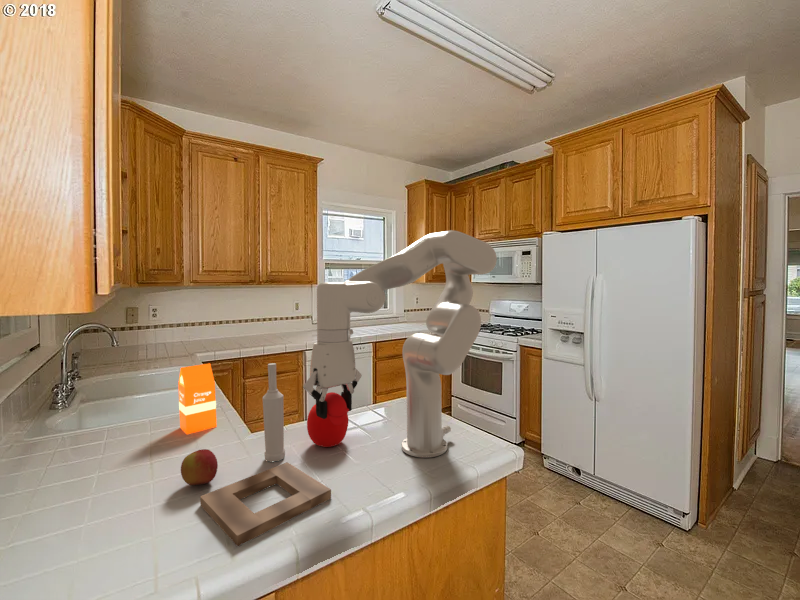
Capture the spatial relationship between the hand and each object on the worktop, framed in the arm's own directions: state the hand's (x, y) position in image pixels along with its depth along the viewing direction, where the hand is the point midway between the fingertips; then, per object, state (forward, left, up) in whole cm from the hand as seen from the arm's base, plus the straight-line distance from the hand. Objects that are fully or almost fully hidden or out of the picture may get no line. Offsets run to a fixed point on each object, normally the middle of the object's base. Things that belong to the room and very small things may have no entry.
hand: (334, 412), depth 89 cm
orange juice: (+10, -58, -16) cm, 62 cm away
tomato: (-11, -17, -16) cm, 26 cm away
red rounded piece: (0, 0, -2) cm, 2 cm away
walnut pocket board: (+15, -3, -16) cm, 22 cm away
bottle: (+4, -20, -16) cm, 26 cm away
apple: (+22, -21, -16) cm, 35 cm away
